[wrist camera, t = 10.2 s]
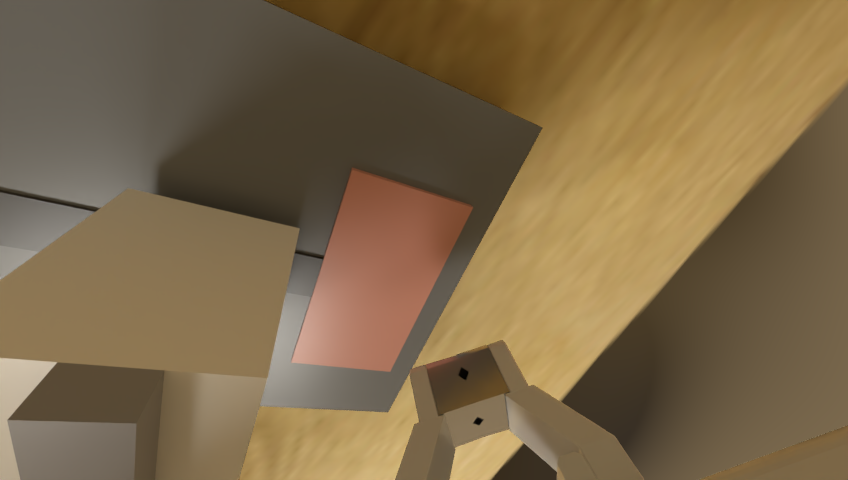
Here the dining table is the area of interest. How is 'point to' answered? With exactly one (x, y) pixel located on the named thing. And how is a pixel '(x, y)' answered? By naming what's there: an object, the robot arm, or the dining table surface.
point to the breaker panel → (261, 164)
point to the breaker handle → (141, 343)
